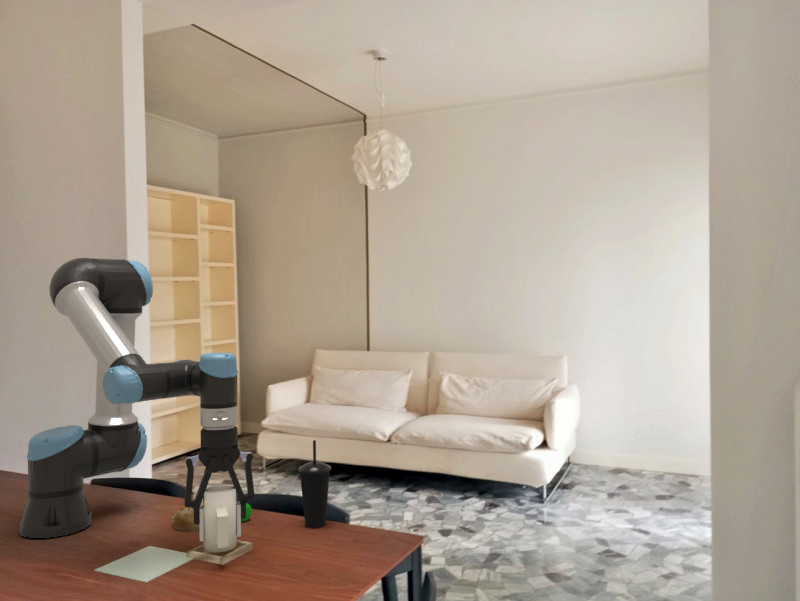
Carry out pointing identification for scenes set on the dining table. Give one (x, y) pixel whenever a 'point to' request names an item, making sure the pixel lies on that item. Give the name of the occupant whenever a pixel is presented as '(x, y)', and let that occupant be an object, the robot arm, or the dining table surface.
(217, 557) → the holder
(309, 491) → the drinking cup
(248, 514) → the polyhedron
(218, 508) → the white cylinder with tab
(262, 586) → the dining table surface
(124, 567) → the plate
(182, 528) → the bread roll
